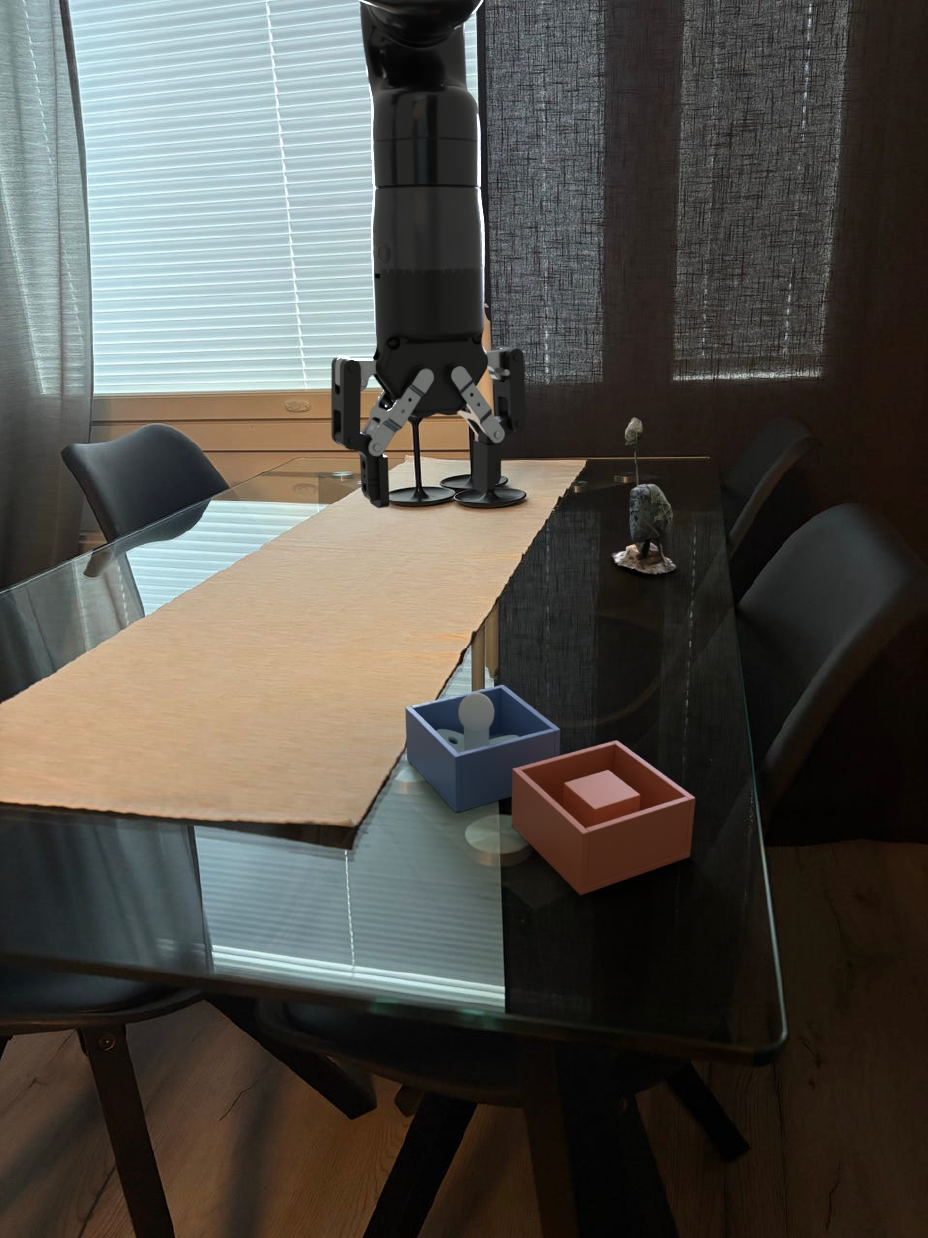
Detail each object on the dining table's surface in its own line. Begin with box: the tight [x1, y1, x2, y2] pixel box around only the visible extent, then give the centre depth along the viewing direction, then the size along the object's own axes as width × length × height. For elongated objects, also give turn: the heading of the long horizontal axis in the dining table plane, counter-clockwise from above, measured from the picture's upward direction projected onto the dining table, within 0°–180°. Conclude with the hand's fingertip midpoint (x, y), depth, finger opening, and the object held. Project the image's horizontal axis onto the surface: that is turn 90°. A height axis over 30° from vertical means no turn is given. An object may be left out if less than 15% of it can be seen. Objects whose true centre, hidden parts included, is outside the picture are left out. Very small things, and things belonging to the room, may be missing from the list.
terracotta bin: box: [511, 739, 696, 896], centre depth 70 cm, size 10×10×5 cm
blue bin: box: [404, 684, 561, 813], centre depth 80 cm, size 10×10×5 cm
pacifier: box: [436, 693, 519, 753], centre depth 79 cm, size 7×6×6 cm
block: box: [563, 770, 640, 829], centre depth 70 cm, size 4×4×4 cm
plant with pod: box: [610, 417, 677, 575], centre depth 127 cm, size 8×11×20 cm
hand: (432, 498), depth 70 cm, fingers open, 8 cm apart
